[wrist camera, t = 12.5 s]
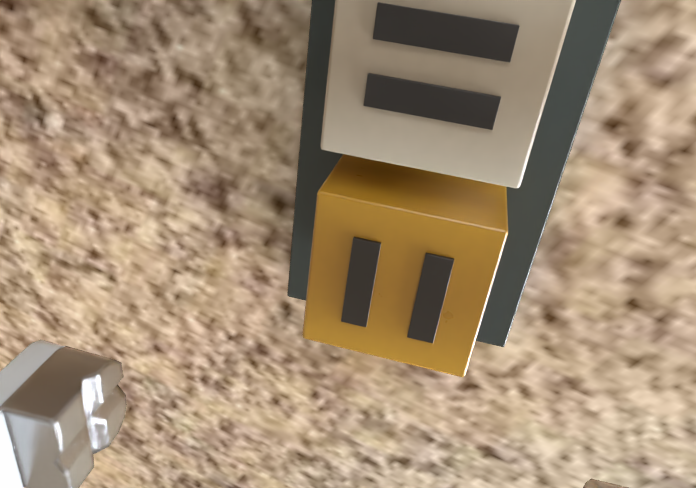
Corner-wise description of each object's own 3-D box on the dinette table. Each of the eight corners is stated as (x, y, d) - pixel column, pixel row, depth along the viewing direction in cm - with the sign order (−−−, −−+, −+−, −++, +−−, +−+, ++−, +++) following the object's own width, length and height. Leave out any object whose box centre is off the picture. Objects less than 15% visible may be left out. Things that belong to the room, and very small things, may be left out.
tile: (513, 129, 17) (519, 192, 13) (358, 100, 17) (317, 152, 13) (563, -49, 14) (589, -40, 10) (381, -76, 15) (340, -76, 11)
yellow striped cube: (470, 289, 19) (464, 381, 15) (338, 259, 20) (300, 341, 16) (506, 162, 17) (509, 233, 13) (355, 133, 18) (315, 192, 14)
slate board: (503, 327, 21) (504, 348, 20) (296, 279, 22) (286, 296, 21) (769, -481, 11) (797, -523, 10) (367, -500, 12) (355, -538, 11)
